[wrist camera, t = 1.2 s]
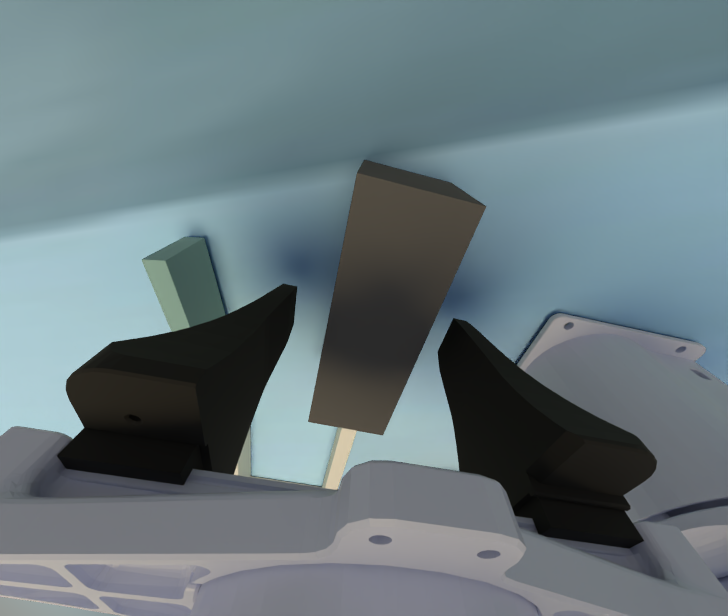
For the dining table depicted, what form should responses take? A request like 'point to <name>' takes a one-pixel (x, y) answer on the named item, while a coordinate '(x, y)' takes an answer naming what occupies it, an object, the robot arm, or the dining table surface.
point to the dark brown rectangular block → (388, 291)
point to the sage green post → (185, 283)
